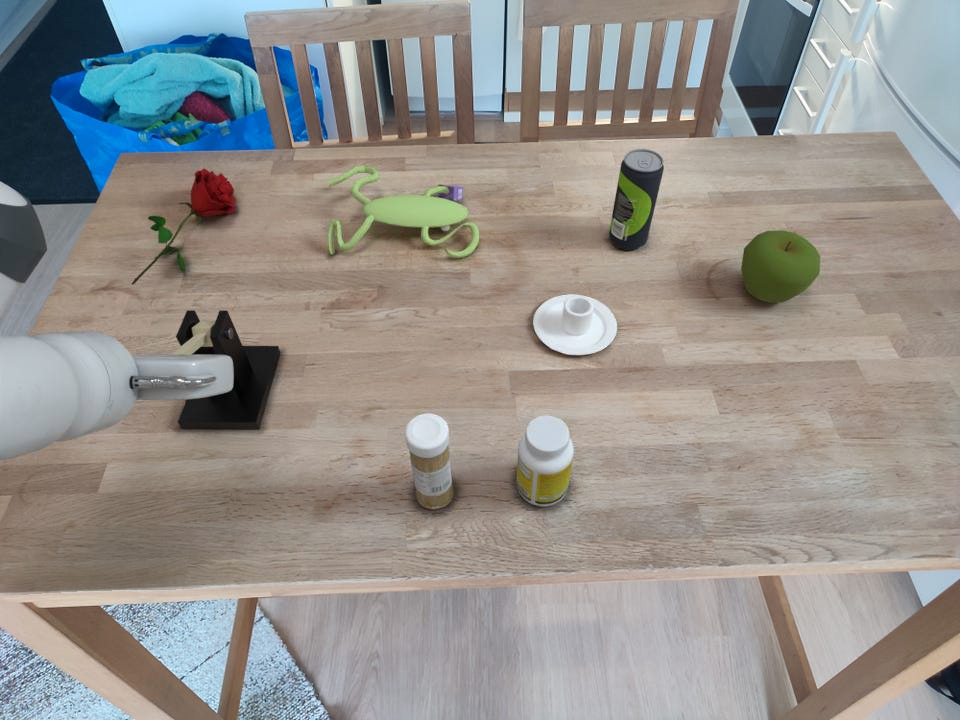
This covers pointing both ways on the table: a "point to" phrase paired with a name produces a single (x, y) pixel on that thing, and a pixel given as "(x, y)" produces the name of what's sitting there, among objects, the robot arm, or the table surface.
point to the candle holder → (575, 324)
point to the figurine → (407, 212)
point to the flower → (197, 208)
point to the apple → (779, 265)
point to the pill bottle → (544, 461)
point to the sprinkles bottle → (430, 460)
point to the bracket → (249, 383)
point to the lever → (197, 338)
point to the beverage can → (635, 198)
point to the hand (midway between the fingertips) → (158, 367)
